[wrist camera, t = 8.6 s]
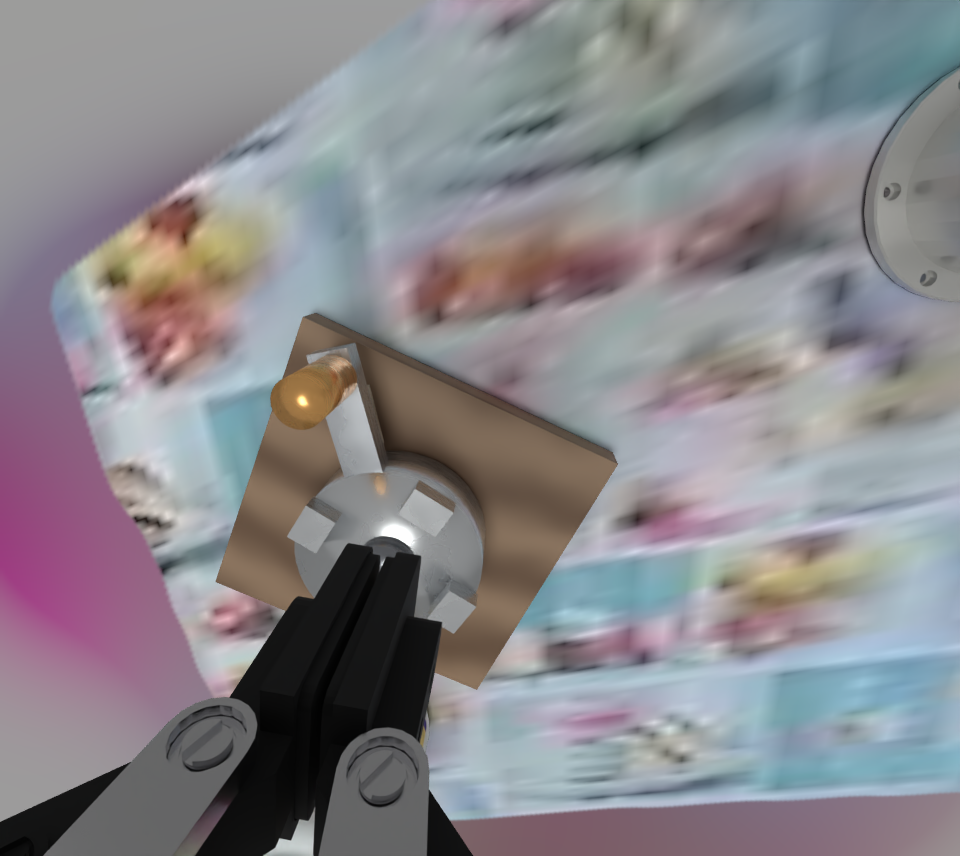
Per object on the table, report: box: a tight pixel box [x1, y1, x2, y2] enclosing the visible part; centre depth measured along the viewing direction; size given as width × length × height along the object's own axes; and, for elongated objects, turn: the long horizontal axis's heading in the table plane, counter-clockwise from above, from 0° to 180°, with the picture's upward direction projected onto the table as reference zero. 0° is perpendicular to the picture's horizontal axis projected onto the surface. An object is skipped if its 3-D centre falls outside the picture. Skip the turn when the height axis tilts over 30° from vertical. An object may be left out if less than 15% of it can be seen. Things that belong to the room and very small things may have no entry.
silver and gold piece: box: [270, 343, 485, 634], centre depth 30 cm, size 20×12×8 cm, turn 11°
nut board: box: [216, 313, 618, 690], centre depth 36 cm, size 22×22×2 cm
